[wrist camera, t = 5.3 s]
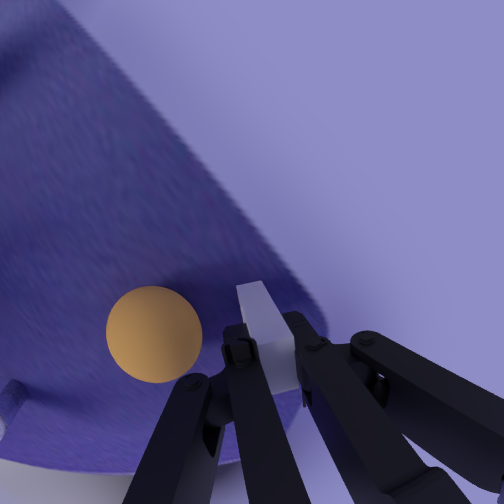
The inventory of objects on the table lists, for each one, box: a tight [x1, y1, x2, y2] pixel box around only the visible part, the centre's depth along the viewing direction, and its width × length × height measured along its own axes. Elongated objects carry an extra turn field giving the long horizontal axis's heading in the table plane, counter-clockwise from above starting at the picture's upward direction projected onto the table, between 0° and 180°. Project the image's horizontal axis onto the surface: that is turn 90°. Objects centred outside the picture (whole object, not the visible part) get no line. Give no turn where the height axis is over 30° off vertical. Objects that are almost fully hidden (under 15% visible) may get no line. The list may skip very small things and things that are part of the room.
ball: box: [106, 286, 202, 383], centre depth 14 cm, size 6×6×6 cm
